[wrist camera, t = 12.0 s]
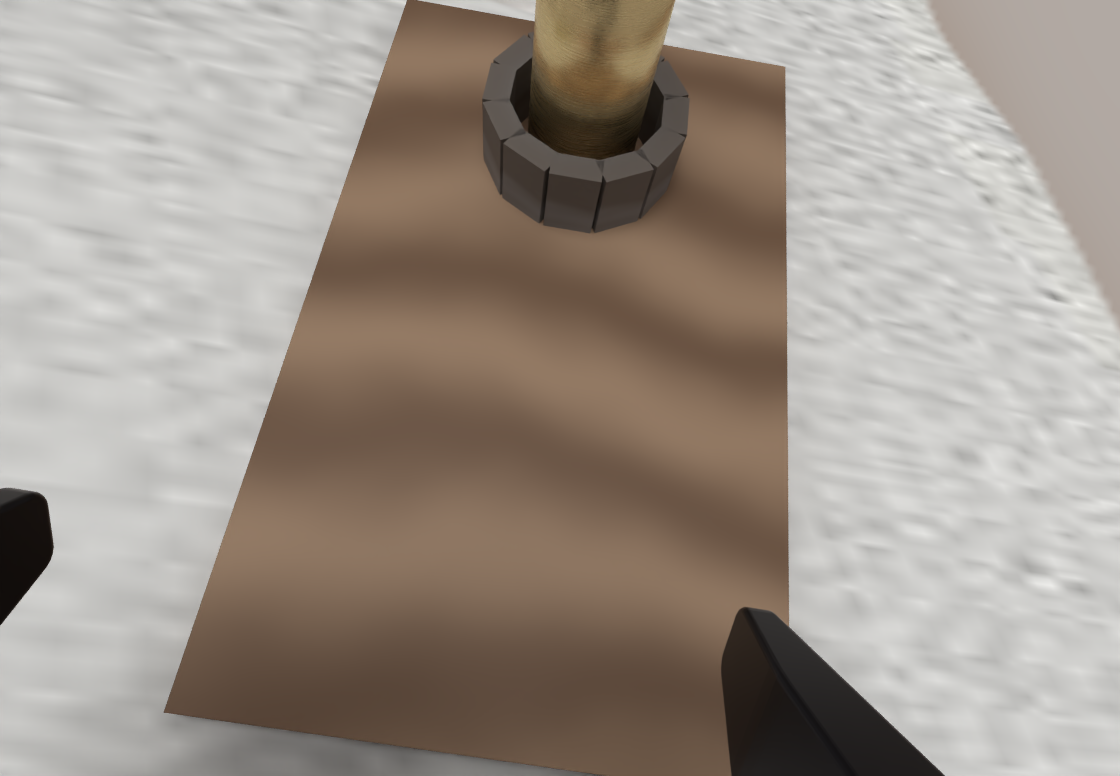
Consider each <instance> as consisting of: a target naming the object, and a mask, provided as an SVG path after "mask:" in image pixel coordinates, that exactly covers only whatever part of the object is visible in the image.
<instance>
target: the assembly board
mask: <svg viewBox="0 0 1120 776" xmlns="http://www.w3.org/2000/svg"><path fill="white" fill-rule="evenodd" d="M534 25H535V22H534V21H528V20H523V19H517V18H512V17H506V16H501V15H495V14H490V13H484V12H479V11H473V10H468V9H462V8H457V7H451V6H446V5H440V4H434V3H429V2H423V1H418V0H407V2H406V5H405V8H404V11H403V14H402V17H401V20H400V23H399V26H398V29H397V32H396V35H395V38H394V40H393V43H392V46H391V49H390V52H389V55H388V58H387V61H386V64H385V67H384V70H383V73H382V76H381V78H380V81H379V84H378V87H377V90H376V93H375V96H374V99H373V102H372V105H371V108H370V111H369V114H368V116H367V119H366V122H365V125H364V128H363V131H362V134H361V137H360V140H359V143H358V146H357V149H356V152H355V154H354V157H353V160H352V163H351V166H350V169H349V172H348V175H347V178H346V181H345V184H344V187H343V190H342V192H341V195H340V198H339V201H338V204H337V207H336V210H335V213H334V216H333V219H332V222H331V225H330V228H329V230H328V233H327V236H326V239H325V242H324V245H323V248H322V251H321V254H320V257H319V260H318V263H317V266H316V268H315V271H314V274H313V277H312V280H311V283H310V286H309V289H308V292H307V295H306V298H305V301H304V304H303V306H302V309H301V312H300V315H299V318H298V321H297V324H296V327H295V330H294V333H293V336H292V339H291V342H290V345H289V347H288V350H287V353H286V356H285V359H284V362H283V365H282V368H281V371H280V374H279V377H278V380H277V383H276V385H275V388H274V391H273V394H272V397H271V400H270V403H269V406H268V409H267V412H266V415H265V418H264V421H263V423H262V426H261V429H260V432H259V435H258V438H257V441H256V444H255V447H254V450H253V453H252V456H251V459H250V461H249V464H248V467H247V470H246V473H245V476H244V479H243V482H242V485H241V488H240V491H239V494H238V497H237V499H236V502H235V505H234V508H233V511H232V514H231V517H230V520H229V523H228V526H227V529H226V532H225V535H224V537H223V540H222V543H221V546H220V549H219V552H218V555H217V558H216V561H215V564H214V567H213V570H212V573H211V575H210V578H209V581H208V584H207V587H206V590H205V593H204V596H203V599H202V602H201V605H200V608H199V611H198V613H197V616H196V619H195V622H194V625H193V628H192V631H191V634H190V637H189V640H188V643H187V646H186V649H185V651H184V654H183V657H182V660H181V663H180V666H179V669H178V672H177V675H176V678H175V681H174V684H173V687H172V690H171V692H170V695H169V698H168V701H167V704H166V707H165V710H164V713H171V714H178V715H185V716H192V717H199V718H206V719H213V720H220V721H227V722H234V723H241V724H248V725H255V726H262V727H269V728H276V729H283V730H290V731H297V732H304V733H311V734H318V735H325V736H332V737H339V738H346V739H353V740H360V741H367V742H374V743H381V744H388V745H395V746H402V747H409V748H416V749H423V750H430V751H437V752H444V753H451V754H458V755H465V756H472V757H479V758H486V759H493V760H500V761H507V762H513V763H520V764H527V765H534V766H541V767H548V768H555V769H562V770H569V771H576V772H583V773H590V774H597V775H604V776H731V768H730V758H729V748H728V738H727V728H726V718H725V708H724V698H723V688H722V678H721V661H722V655H723V652H724V649H725V646H726V643H727V640H728V637H729V634H730V631H731V628H732V625H733V622H734V619H735V616H736V614H737V612H738V611H739V609H741V608H743V607H751V608H757V609H763V610H769V611H772V612H773V613H775V614H776V615H777V616H778V617H779V618H780V619H781V620H782V621H783V622H784V623H785V624H786V625H787V626H789V566H788V416H787V265H786V115H785V67H783V66H777V65H772V64H766V63H761V62H755V61H750V60H744V59H739V58H733V57H728V56H722V55H717V54H711V53H706V52H700V51H694V50H689V49H683V48H678V47H672V46H667V45H663V47H662V51H661V54H660V58H659V62H658V65H657V69H656V73H655V76H654V80H653V84H652V87H651V91H650V95H649V98H648V102H647V106H646V109H645V113H644V117H643V120H642V124H641V127H640V131H639V135H638V138H637V142H636V146H635V149H634V151H633V152H629V153H626V154H622V155H618V156H614V157H610V158H606V159H602V160H596V159H591V158H585V157H579V156H573V155H568V154H562V153H557V152H556V151H554V150H553V149H551V148H550V147H548V146H547V145H545V144H544V143H542V142H541V141H540V140H538V139H537V138H535V137H534V136H532V135H531V134H529V133H528V120H529V104H530V88H531V72H532V56H533V40H534Z"/></svg>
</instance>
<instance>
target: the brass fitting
mask: <svg viewBox="0 0 1120 776" xmlns="http://www.w3.org/2000/svg"><path fill="white" fill-rule="evenodd" d="M674 3H675V0H536V9H535V25H534V40H533V56H532V72H531V88H530V104H529V120H528V133H529V134H531V135H532V136H534V137H535V138H537V139H538V140H540V141H541V142H542V143H544V144H545V145H547V146H548V147H550V148H551V149H553V150H554V151H556V152H557V153H562V154H568V155H573V156H579V157H585V158H591V159H596V160H602V159H606V158H610V157H614V156H618V155H622V154H626V153H629V152H633V151H634V149H635V146H636V142H637V138H638V135H639V131H640V127H641V124H642V120H643V117H644V113H645V109H646V106H647V102H648V98H649V95H650V91H651V87H652V84H653V80H654V76H655V73H656V69H657V65H658V62H659V58H660V54H661V51H662V47H663V43H664V40H665V36H666V32H667V29H668V25H669V21H670V18H671V14H672V10H673V7H674Z"/></svg>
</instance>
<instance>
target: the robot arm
mask: <svg viewBox="0 0 1120 776" xmlns="http://www.w3.org/2000/svg"><path fill="white" fill-rule="evenodd" d="M53 548H54V545H53V537H52V530H51V523H50V516H49V509H48V503H47V500H46V499H45V497H44V496H43V495H42V494H40V493H38V492H33V491H27V490H21V489H15V488H2V489H0V625H1V624H2V623H3V621H4V620H5V619H6V618H7V616H8V615H9V614H10V613H11V611H12V610H13V609H14V608H15V606H16V605H17V604H18V603H19V601H20V600H21V599H22V597H23V596H24V595H25V594H26V592H27V591H28V590H29V589H30V587H31V586H32V585H33V584H34V582H35V581H36V580H37V579H38V577H39V576H40V575H41V574H42V572H43V571H44V570H45V568H46V567H47V565H48V564H49V562H50V560H51V557H52V554H53ZM721 678H722V688H723V698H724V708H725V718H726V728H727V738H728V748H729V758H730V768H731V776H945V775H944V774H943V773H942V772H941V771H940V770H938V769H937V768H936V767H935V766H934V765H933V764H932V763H931V762H930V761H929V760H928V759H927V758H926V757H925V756H924V755H923V754H922V753H921V752H920V751H919V750H918V749H916V748H915V747H914V746H913V745H912V744H911V743H910V742H909V741H908V740H907V739H906V738H905V737H904V736H903V735H902V734H901V733H900V732H899V731H898V730H897V729H895V728H894V727H893V726H892V725H891V724H890V723H889V722H888V721H887V720H886V719H885V718H884V717H883V716H882V715H881V714H880V713H879V712H878V711H877V710H876V709H875V708H873V707H872V706H871V705H870V704H869V703H868V702H867V701H866V700H865V699H864V698H863V697H862V696H861V695H860V694H859V693H858V692H857V691H856V690H855V689H854V688H852V687H851V686H850V685H849V684H848V683H847V682H846V681H845V680H844V679H843V678H842V677H841V676H840V675H839V674H838V673H837V672H836V671H835V670H834V669H833V668H832V667H830V666H829V665H828V664H827V663H826V662H825V661H824V660H823V659H822V658H821V657H820V656H819V655H818V654H817V653H816V652H815V651H814V650H813V649H812V648H811V647H809V646H808V645H807V644H806V643H805V642H804V641H803V640H802V639H801V638H800V637H799V636H798V635H797V634H796V633H795V632H794V631H793V630H792V629H791V628H790V627H789V626H787V625H786V624H785V623H784V622H783V621H782V620H781V619H780V618H779V617H778V616H777V615H776V614H775V613H773V612H772V611H769V610H763V609H757V608H751V607H743V608H741V609H739V611H738V612H737V614H736V616H735V619H734V622H733V625H732V628H731V631H730V634H729V637H728V640H727V643H726V646H725V649H724V652H723V655H722V661H721Z"/></svg>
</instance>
